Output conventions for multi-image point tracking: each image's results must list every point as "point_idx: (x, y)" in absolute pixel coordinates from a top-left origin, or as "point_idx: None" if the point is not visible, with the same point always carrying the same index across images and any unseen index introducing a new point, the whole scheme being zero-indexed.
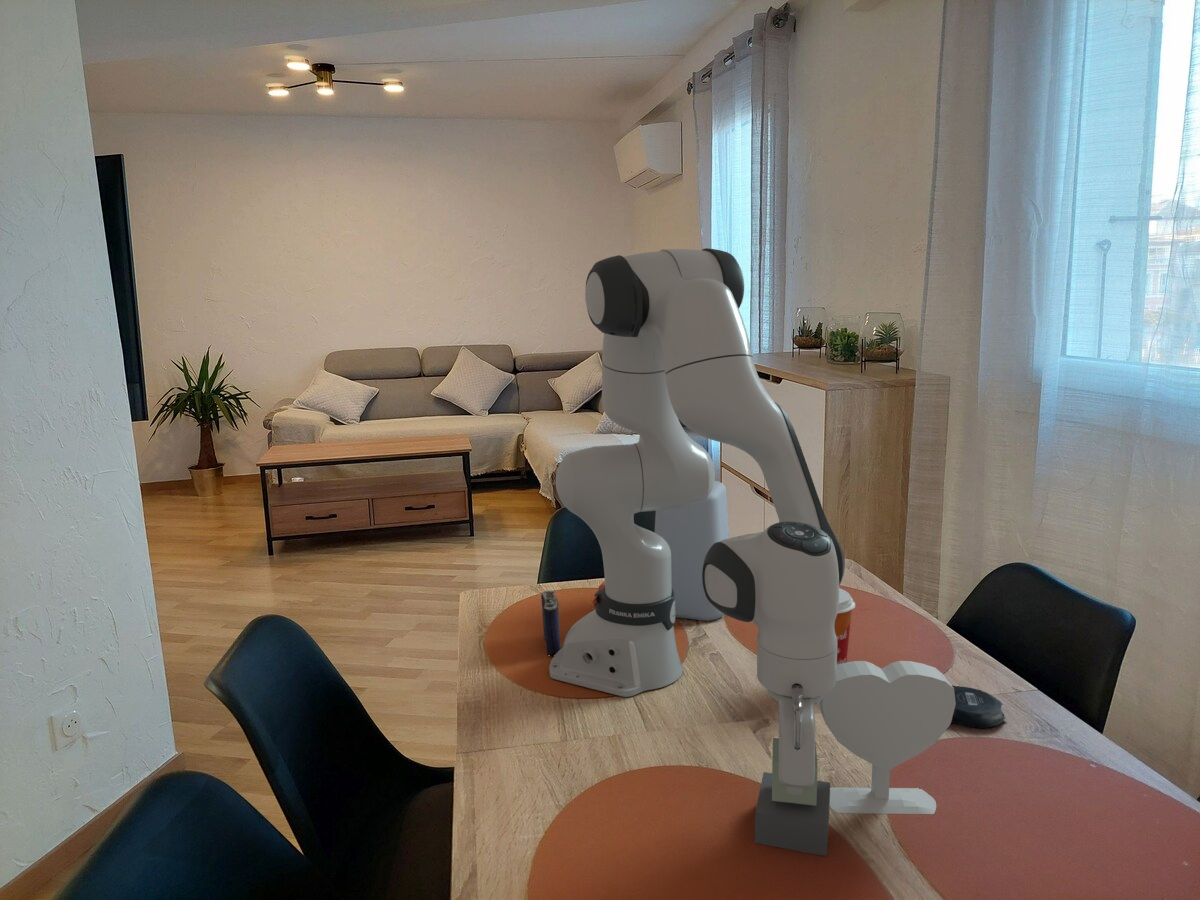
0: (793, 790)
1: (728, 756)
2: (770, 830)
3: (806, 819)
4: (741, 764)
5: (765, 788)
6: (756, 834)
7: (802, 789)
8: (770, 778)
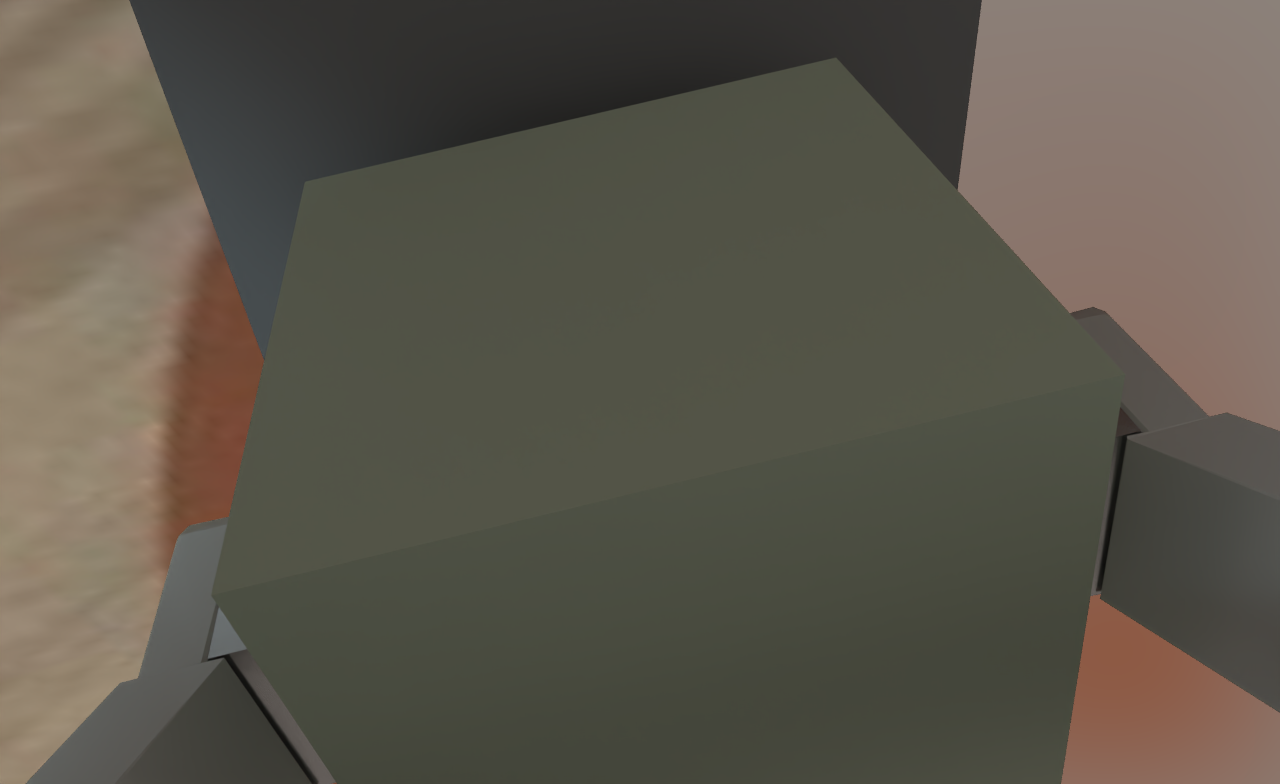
0: None
1: (5, 697)
2: None
3: (940, 100)
4: (33, 619)
5: None
6: None
7: (1128, 337)
8: None
